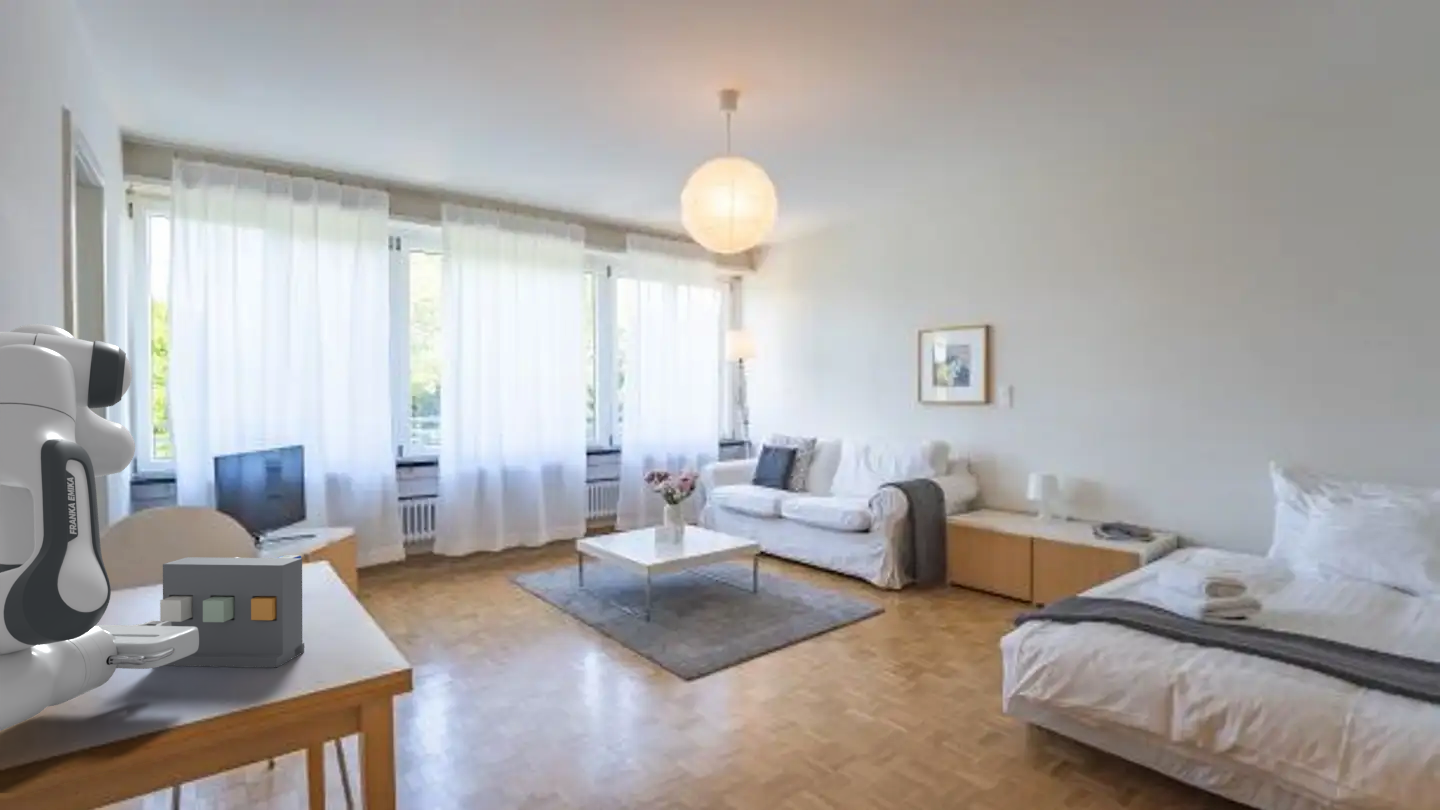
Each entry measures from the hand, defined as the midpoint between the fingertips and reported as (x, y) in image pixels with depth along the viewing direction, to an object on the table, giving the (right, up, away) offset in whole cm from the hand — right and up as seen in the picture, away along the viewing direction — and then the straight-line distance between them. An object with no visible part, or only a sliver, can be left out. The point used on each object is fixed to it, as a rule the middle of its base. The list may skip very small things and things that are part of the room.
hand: (162, 625), depth 106 cm
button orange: (+11, -1, +8) cm, 13 cm away
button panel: (+4, -8, +10) cm, 14 cm away
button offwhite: (-3, -1, +7) cm, 8 cm away
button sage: (+4, -1, +7) cm, 8 cm away
